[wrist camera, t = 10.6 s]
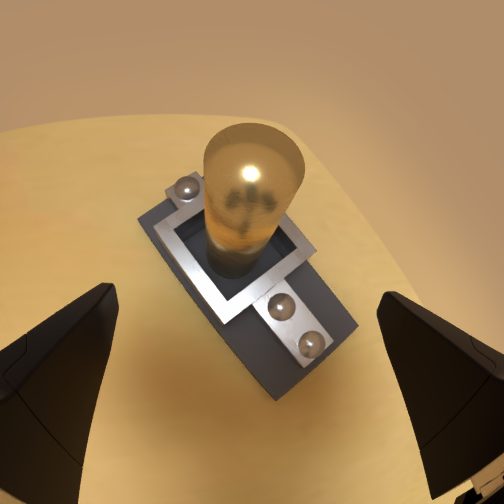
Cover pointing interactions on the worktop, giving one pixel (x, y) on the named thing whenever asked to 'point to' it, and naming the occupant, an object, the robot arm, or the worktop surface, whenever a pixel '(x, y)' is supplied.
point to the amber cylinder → (247, 193)
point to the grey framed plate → (257, 293)
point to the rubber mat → (247, 323)
